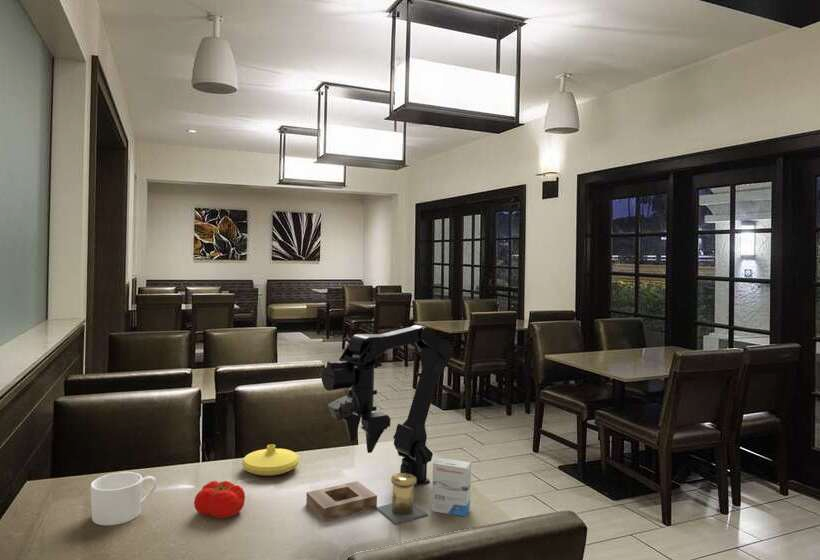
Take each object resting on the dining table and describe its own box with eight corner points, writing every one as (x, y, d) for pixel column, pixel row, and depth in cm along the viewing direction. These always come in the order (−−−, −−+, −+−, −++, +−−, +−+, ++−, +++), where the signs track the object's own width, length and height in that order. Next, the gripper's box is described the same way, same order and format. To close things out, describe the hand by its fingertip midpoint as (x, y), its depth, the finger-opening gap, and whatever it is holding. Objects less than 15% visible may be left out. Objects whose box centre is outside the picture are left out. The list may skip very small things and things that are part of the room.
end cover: (385, 507, 135) (386, 475, 135) (406, 502, 138) (408, 471, 138) (397, 517, 130) (399, 485, 129) (419, 513, 133) (421, 480, 132)
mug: (89, 530, 121) (89, 493, 120) (91, 510, 130) (91, 475, 130) (157, 518, 127) (157, 483, 127) (154, 500, 136) (155, 467, 136)
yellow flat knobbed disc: (255, 458, 166) (256, 434, 166) (306, 462, 164) (307, 438, 163) (231, 479, 150) (231, 453, 150) (287, 484, 148) (287, 458, 148)
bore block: (357, 492, 144) (357, 481, 144) (376, 507, 136) (377, 495, 136) (306, 504, 136) (306, 492, 136) (323, 521, 128) (324, 508, 128)
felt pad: (407, 500, 140) (407, 499, 140) (427, 515, 133) (427, 513, 133) (375, 508, 135) (376, 507, 135) (395, 524, 128) (395, 522, 128)
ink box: (470, 509, 137) (472, 461, 136) (465, 517, 132) (467, 468, 132) (436, 502, 139) (438, 456, 139) (431, 511, 135) (432, 463, 134)
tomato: (227, 526, 124) (228, 497, 124) (186, 518, 128) (186, 490, 127) (252, 508, 134) (252, 481, 133) (213, 500, 137) (213, 474, 137)
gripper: (317, 380, 143) (315, 441, 144) (351, 397, 128) (349, 465, 128) (355, 376, 149) (354, 434, 150) (392, 392, 134) (390, 456, 134)
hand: (360, 446), depth 140 cm, fingers open, 9 cm apart
